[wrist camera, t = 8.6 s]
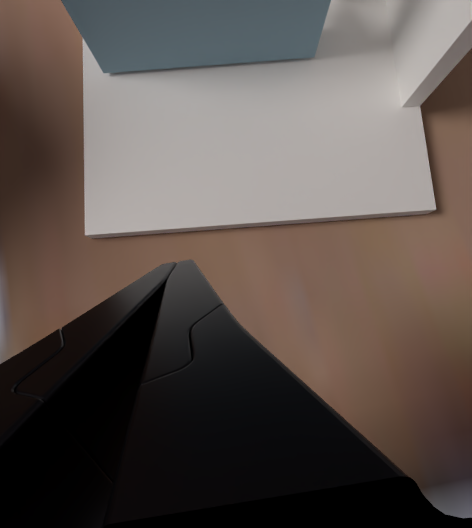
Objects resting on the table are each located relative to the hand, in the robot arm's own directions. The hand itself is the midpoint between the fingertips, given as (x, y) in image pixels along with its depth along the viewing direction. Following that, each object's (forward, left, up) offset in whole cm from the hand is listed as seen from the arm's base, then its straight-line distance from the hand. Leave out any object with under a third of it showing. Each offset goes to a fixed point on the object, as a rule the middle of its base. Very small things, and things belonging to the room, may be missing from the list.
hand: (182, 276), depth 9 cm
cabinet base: (+13, -5, -12) cm, 19 cm away
